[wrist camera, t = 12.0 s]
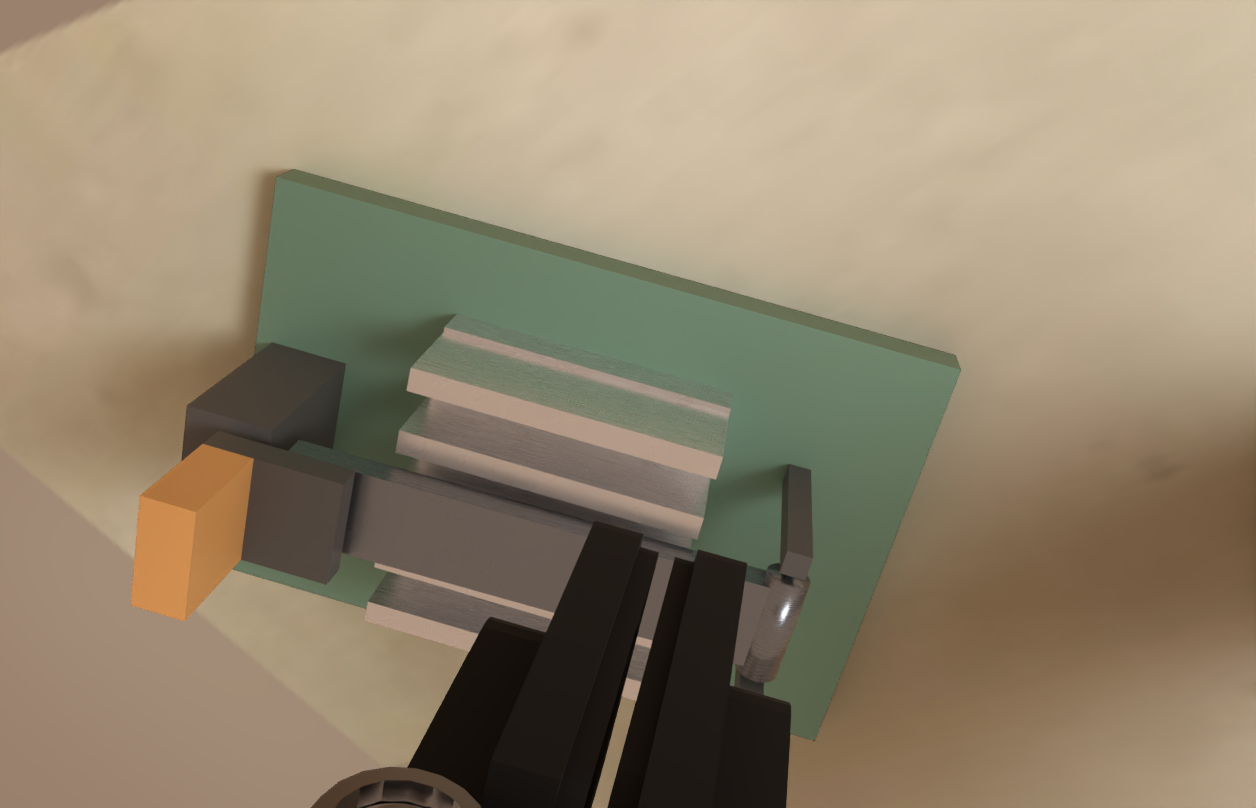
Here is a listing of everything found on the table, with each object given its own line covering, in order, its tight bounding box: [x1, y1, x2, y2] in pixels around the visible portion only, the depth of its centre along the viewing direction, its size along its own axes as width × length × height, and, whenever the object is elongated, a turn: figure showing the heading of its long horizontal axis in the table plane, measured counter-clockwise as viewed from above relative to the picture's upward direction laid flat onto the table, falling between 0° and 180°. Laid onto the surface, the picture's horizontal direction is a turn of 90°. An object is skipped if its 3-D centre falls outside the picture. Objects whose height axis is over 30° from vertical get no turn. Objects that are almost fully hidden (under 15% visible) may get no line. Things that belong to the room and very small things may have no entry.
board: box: [182, 169, 961, 741], centre depth 39 cm, size 24×16×8 cm, turn 76°
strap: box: [289, 440, 810, 683], centre depth 36 cm, size 17×4×1 cm, turn 76°
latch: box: [131, 431, 355, 621], centre depth 33 cm, size 4×4×4 cm
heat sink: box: [364, 314, 733, 701], centre depth 39 cm, size 10×10×5 cm
